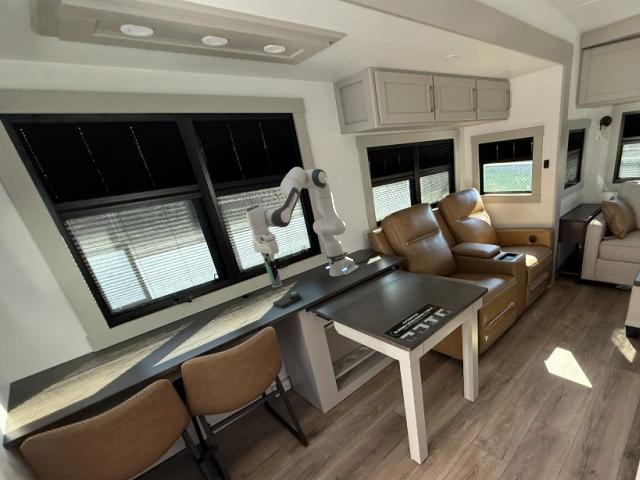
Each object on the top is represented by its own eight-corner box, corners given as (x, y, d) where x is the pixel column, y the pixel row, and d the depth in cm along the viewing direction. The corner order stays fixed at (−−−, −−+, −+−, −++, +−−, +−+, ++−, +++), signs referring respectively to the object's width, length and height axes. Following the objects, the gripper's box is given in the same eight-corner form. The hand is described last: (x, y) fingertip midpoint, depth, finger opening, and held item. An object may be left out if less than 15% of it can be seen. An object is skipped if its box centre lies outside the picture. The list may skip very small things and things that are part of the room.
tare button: (294, 293, 190) (294, 291, 189) (298, 294, 188) (297, 291, 187) (290, 295, 188) (289, 293, 187) (293, 296, 186) (292, 293, 185)
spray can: (281, 286, 181) (271, 253, 173) (271, 288, 180) (261, 255, 172) (282, 282, 186) (272, 250, 178) (272, 285, 185) (262, 252, 177)
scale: (292, 296, 196) (291, 290, 194) (303, 299, 189) (301, 293, 188) (273, 305, 186) (271, 299, 185) (283, 309, 180) (281, 302, 178)
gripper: (247, 237, 176) (254, 260, 181) (266, 238, 163) (274, 263, 168) (257, 234, 180) (264, 256, 185) (277, 235, 168) (284, 259, 173)
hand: (269, 260), depth 177 cm, fingers closed on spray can, 5 cm apart
